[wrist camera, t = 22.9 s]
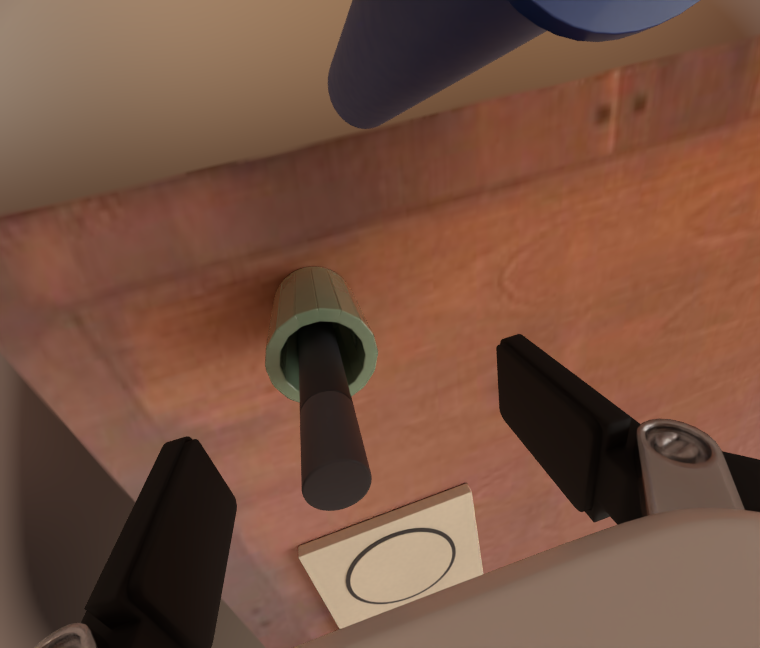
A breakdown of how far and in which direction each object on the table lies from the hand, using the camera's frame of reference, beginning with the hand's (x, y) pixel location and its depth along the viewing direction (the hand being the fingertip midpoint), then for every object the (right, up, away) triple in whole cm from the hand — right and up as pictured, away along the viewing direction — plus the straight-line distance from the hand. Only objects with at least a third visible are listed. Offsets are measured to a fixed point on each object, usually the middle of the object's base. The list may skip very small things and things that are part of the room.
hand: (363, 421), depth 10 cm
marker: (-4, +4, +10) cm, 11 cm away
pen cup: (-4, +4, +10) cm, 12 cm away
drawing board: (+3, -23, +24) cm, 33 cm away
